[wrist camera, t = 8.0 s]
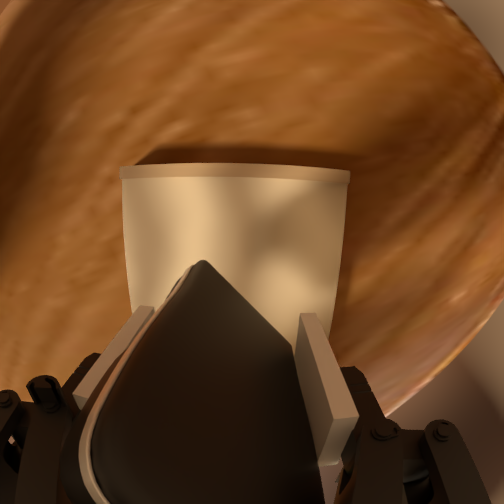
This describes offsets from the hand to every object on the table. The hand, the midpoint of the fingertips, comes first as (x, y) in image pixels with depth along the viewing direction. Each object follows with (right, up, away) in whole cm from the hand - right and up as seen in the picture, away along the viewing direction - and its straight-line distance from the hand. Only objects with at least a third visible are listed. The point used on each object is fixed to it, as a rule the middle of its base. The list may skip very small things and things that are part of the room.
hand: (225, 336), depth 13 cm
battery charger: (0, 0, +1) cm, 1 cm away
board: (0, +2, +6) cm, 7 cm away
